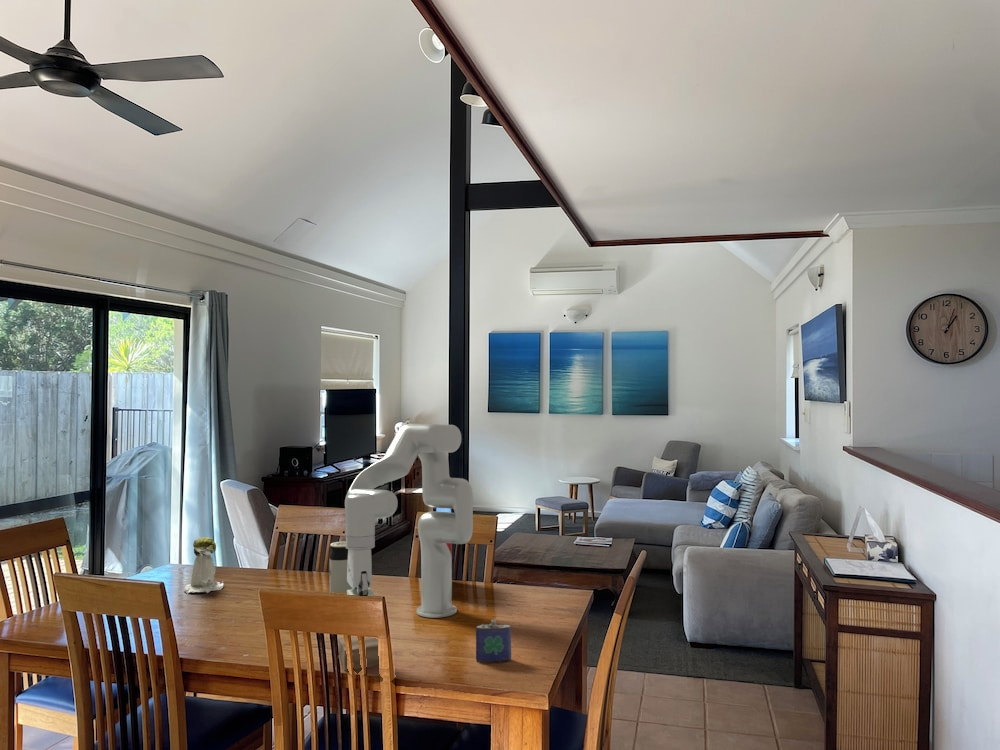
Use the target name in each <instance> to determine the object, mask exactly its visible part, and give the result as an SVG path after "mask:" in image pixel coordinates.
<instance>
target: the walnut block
mask: <svg viewBox="0 0 1000 750" xmlns="http://www.w3.org/2000/svg"><path fill="white" fill-rule="evenodd" d="M354 636H355V635H353V636H351V637H352V653H353V663H354V669H353V670H359V669H362V668H361V665H360V654H359V645H358V638H357V637H354ZM344 638H345V637H338V640H337V641H338V643H337V645H338V644H339V655H338V659H340V660H339V661H340V663H341V665H342V668H343V670H344V671H348V670H347V654H346V647H345V642H344ZM365 645H366V659H367V668H373V667H380V666H379V656H378V640H377V639H376V638H371V637H366V638H365Z"/></svg>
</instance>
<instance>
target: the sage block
mask: <svg viewBox="0 0 1000 750" xmlns="http://www.w3.org/2000/svg"><path fill="white" fill-rule="evenodd" d="M361 591H362V590H360V592H361ZM368 591H369V596H374V597H375V593H374V591H373V590H372V589H371V588H370V587H368ZM347 595H357V589H352V590H347Z"/></svg>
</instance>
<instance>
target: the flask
mask: <svg viewBox="0 0 1000 750" xmlns="http://www.w3.org/2000/svg"><path fill="white" fill-rule="evenodd" d="M475 659H476V663H477V664H493V663H496V664H499V663H507V662H511V661H512V627H511V625H509V624H498V625H497V619H495V618H493V619H491V622H490V623H489V624H488V623H487V624H484V623H482V624H480V625H477V626H476V627H475Z"/></svg>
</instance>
